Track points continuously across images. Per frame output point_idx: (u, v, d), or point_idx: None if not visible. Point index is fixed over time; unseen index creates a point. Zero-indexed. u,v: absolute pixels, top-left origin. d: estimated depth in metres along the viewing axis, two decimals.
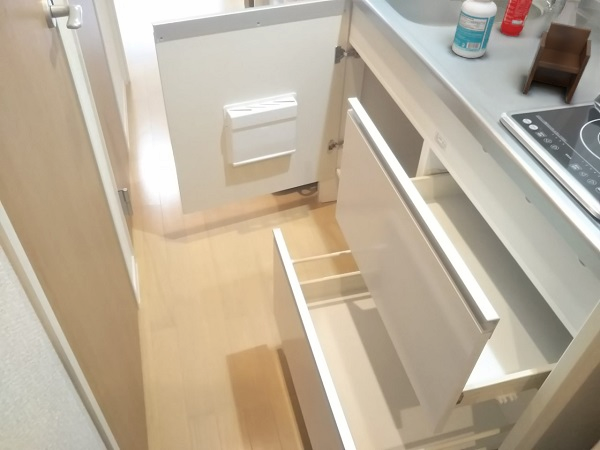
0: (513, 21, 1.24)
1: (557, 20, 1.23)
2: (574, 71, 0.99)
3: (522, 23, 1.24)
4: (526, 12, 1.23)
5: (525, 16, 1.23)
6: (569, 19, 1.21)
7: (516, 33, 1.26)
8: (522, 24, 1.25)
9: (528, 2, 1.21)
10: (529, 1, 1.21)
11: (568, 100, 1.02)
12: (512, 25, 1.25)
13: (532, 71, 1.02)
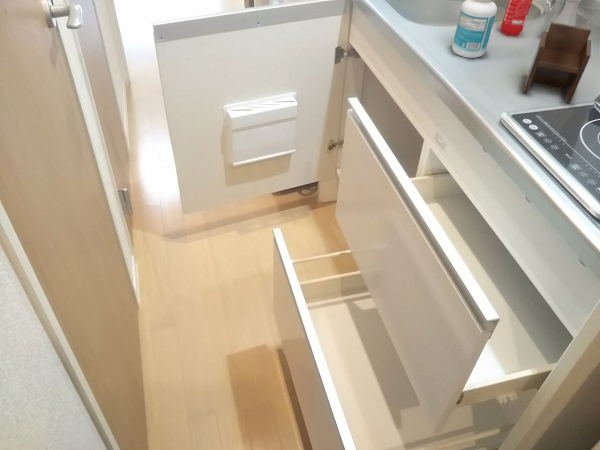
0: (513, 21, 1.24)
1: (557, 20, 1.23)
2: (574, 71, 0.99)
3: (522, 23, 1.24)
4: (526, 12, 1.23)
5: (525, 16, 1.23)
6: (569, 19, 1.21)
7: (516, 33, 1.26)
8: (522, 24, 1.25)
9: (528, 2, 1.21)
10: (529, 1, 1.21)
11: (568, 100, 1.02)
12: (512, 25, 1.25)
13: (532, 71, 1.02)
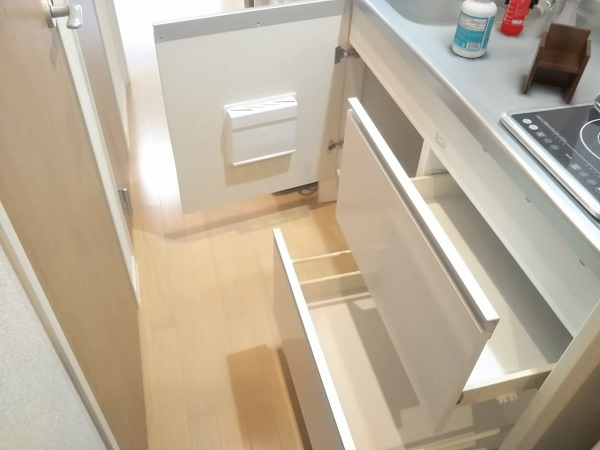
0: (513, 21, 1.24)
1: (557, 20, 1.23)
2: (574, 71, 0.99)
3: (522, 23, 1.24)
4: (526, 12, 1.23)
5: (525, 16, 1.23)
6: (569, 19, 1.21)
7: (516, 33, 1.26)
8: (522, 24, 1.25)
9: (528, 2, 1.21)
10: (529, 1, 1.21)
11: (568, 100, 1.02)
12: (512, 25, 1.25)
13: (532, 71, 1.02)
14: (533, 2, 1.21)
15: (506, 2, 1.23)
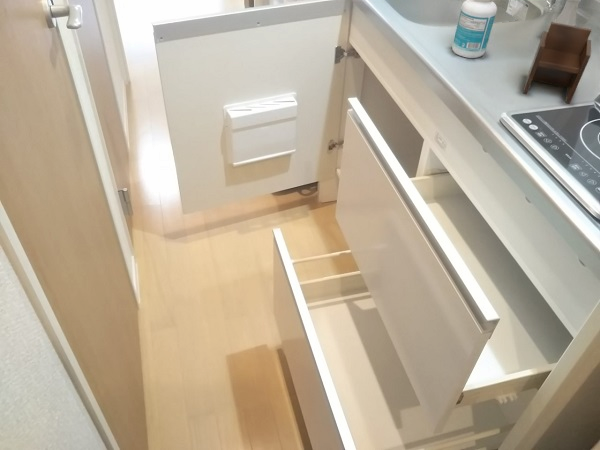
0: None
1: (557, 20, 1.23)
2: (574, 71, 0.99)
3: None
4: None
5: None
6: (569, 19, 1.21)
7: None
8: None
9: None
10: None
11: (568, 100, 1.02)
12: None
13: (532, 71, 1.02)
14: None
15: None
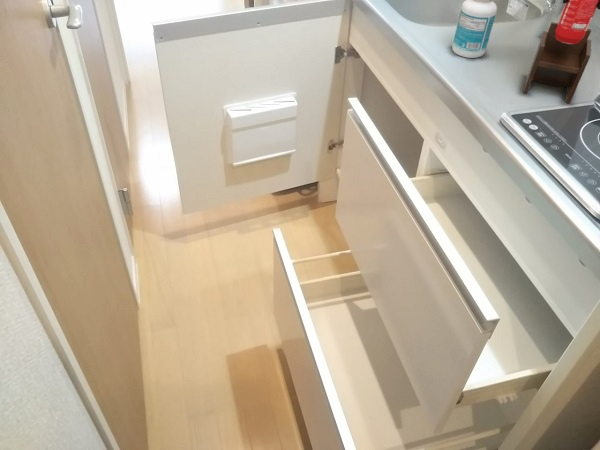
0: (573, 25, 0.95)
1: (557, 20, 1.23)
2: (574, 71, 0.99)
3: (585, 27, 0.96)
4: (592, 13, 0.94)
5: (590, 18, 0.95)
6: None
7: (576, 40, 0.97)
8: (585, 29, 0.96)
9: (596, 1, 0.92)
10: None
11: (568, 100, 1.02)
12: (572, 30, 0.96)
13: (532, 71, 1.02)
14: None
15: (565, 0, 0.94)
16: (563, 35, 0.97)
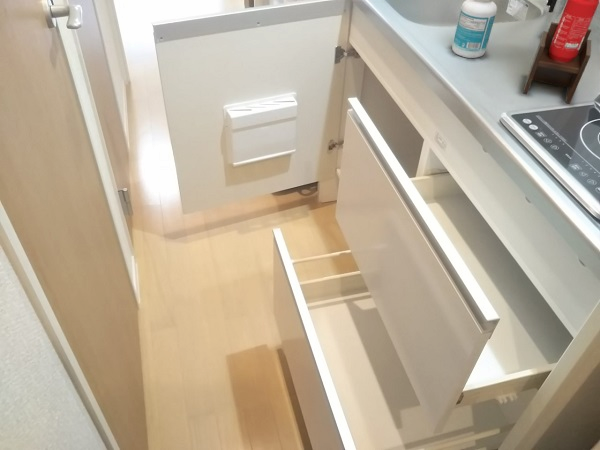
0: (566, 44, 0.98)
1: (557, 20, 1.23)
2: (574, 71, 0.99)
3: (578, 47, 0.98)
4: (584, 33, 0.96)
5: (582, 38, 0.97)
6: None
7: (569, 59, 1.00)
8: (577, 48, 0.98)
9: (587, 21, 0.95)
10: (589, 19, 0.95)
11: (568, 100, 1.02)
12: (564, 49, 0.98)
13: (532, 71, 1.02)
14: None
15: (551, 9, 0.96)
16: (556, 54, 1.00)
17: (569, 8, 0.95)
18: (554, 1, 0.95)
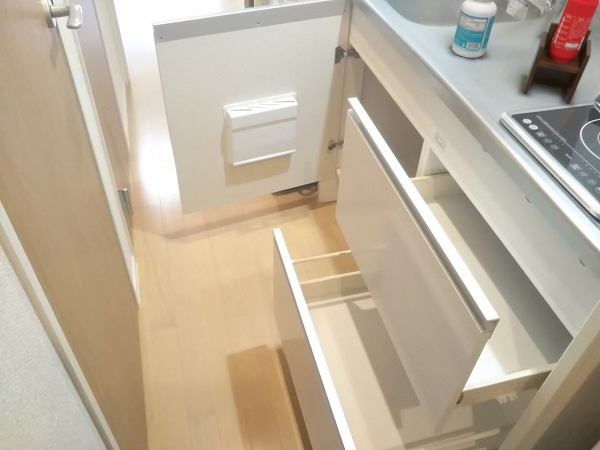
0: (566, 44, 0.98)
1: (557, 20, 1.23)
2: (574, 71, 0.99)
3: (578, 47, 0.98)
4: (584, 33, 0.96)
5: (582, 38, 0.97)
6: None
7: (569, 59, 1.00)
8: (577, 48, 0.98)
9: (587, 21, 0.95)
10: (589, 19, 0.95)
11: (568, 100, 1.02)
12: (564, 49, 0.98)
13: (532, 71, 1.02)
14: None
15: None
16: (556, 54, 1.00)
17: (569, 8, 0.95)
18: None
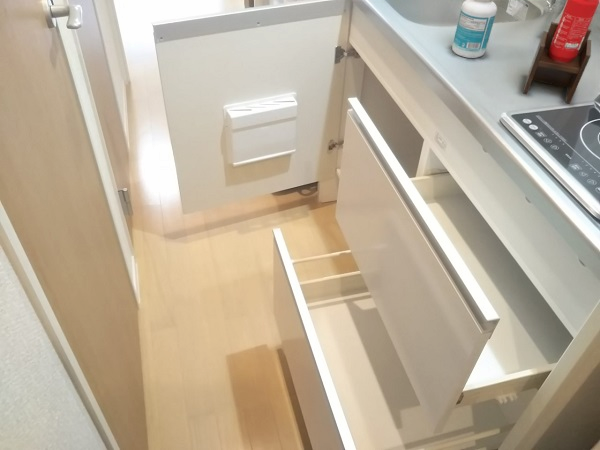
0: (566, 44, 0.98)
1: (557, 20, 1.23)
2: (574, 71, 0.99)
3: (578, 47, 0.98)
4: (584, 33, 0.96)
5: (582, 38, 0.97)
6: None
7: (569, 59, 1.00)
8: (577, 48, 0.98)
9: (587, 21, 0.95)
10: (589, 19, 0.95)
11: (568, 100, 1.02)
12: (564, 49, 0.98)
13: (532, 71, 1.02)
14: None
15: None
16: (556, 54, 1.00)
17: (569, 8, 0.95)
18: None
